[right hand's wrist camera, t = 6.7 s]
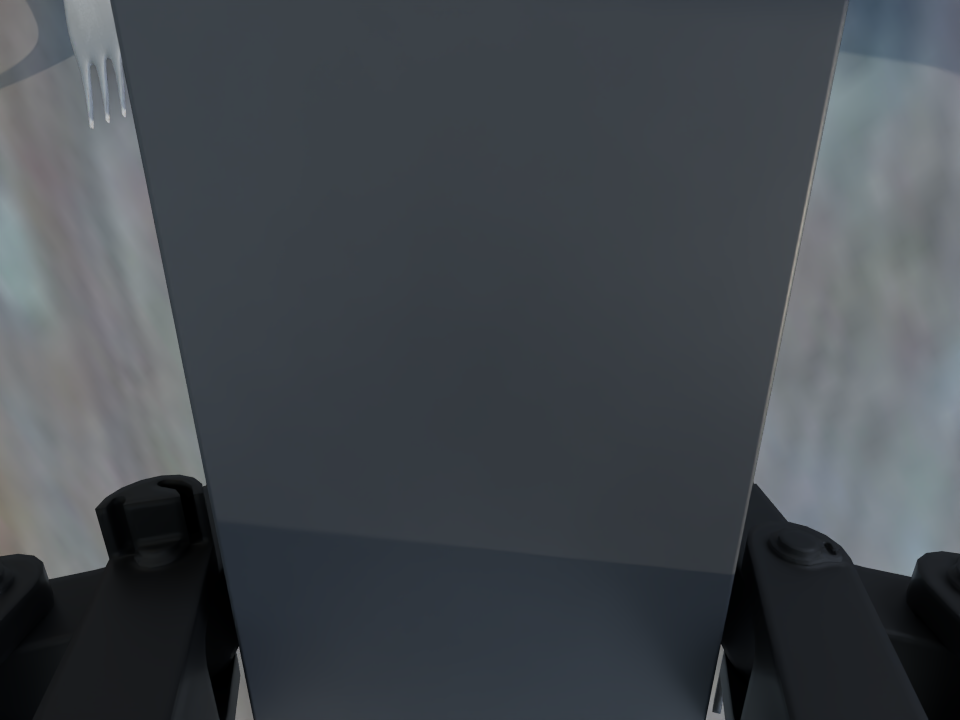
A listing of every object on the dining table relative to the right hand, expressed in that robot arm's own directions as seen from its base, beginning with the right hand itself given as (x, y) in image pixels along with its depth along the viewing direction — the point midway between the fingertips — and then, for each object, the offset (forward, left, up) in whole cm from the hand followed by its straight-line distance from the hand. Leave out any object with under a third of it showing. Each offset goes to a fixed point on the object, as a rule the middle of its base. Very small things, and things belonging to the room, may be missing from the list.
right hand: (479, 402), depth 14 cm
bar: (+5, +8, -1) cm, 9 cm away
